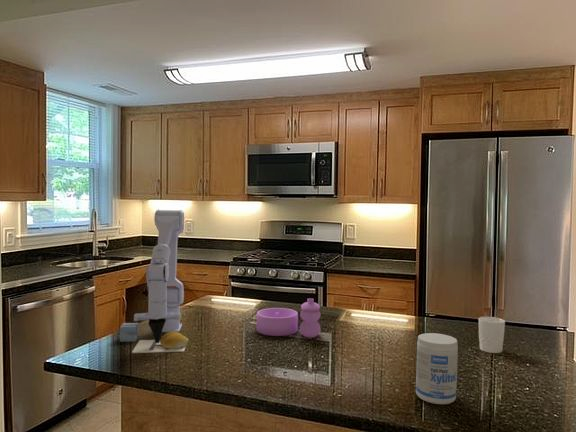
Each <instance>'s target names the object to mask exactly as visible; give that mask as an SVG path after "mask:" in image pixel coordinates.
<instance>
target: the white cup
mask: <svg viewBox="0 0 576 432" xmlns="http://www.w3.org/2000/svg"><path fill="white" fill-rule="evenodd" d="M505 326H506V320H505V319H503V318H499V317H495V316H480V317H478V341H479V349H480V350H481V351H483V352H485V353H491V354H501V353H502V352H503V344H504V338H505Z"/></svg>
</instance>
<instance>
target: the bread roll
mask: <svg viewBox="0 0 576 432" xmlns="http://www.w3.org/2000/svg"><path fill="white" fill-rule="evenodd" d="M187 339H188V338H187V336H185V335H183V334H182V333H180V332H165V334H163V335H162V336H160V343H161V345H162V346H164V347H165V348H167V349H177V348H181V347H184V346H185V345H186V344H187V345H188V341H187ZM187 345H186V346H187Z"/></svg>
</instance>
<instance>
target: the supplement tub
mask: <svg viewBox="0 0 576 432" xmlns="http://www.w3.org/2000/svg"><path fill="white" fill-rule="evenodd" d="M458 347H459V346H458V340H457V338H456V337H453V336H451V335H448V334H442V333H435V332H428V333H427V332H425V333H421V334H419V335H418V336H417V344H416V366H415V367H416V373H415V376H416V377H415V394H416V396H417V397H418V398H419V399H421V400H422V401H425V402H427V403H430V404H434V405H435V404H436V405H449V404H451V403H453V402H455V401H456V399H457V383H458V380H457V379H458V378H457V377H458V358H459V357H458V355H459V353H458V352H459V351H458V350H459V349H458Z"/></svg>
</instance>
